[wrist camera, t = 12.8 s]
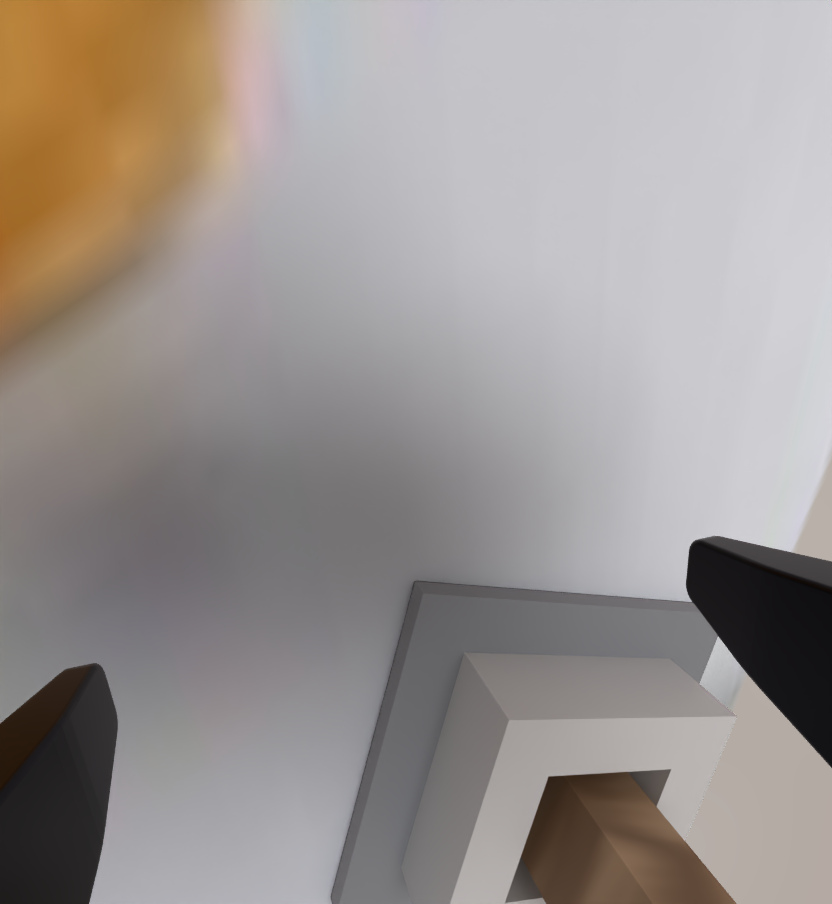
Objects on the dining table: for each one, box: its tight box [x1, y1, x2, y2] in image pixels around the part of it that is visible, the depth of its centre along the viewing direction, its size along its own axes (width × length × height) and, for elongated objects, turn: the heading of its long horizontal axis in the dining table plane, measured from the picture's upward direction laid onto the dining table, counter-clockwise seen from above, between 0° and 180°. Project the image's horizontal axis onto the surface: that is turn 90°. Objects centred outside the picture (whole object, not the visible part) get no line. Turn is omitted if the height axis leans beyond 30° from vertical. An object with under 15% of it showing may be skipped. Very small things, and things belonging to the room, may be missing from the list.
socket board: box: [331, 581, 737, 904], centre depth 26 cm, size 16×16×5 cm
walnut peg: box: [521, 772, 736, 904], centre depth 22 cm, size 4×4×13 cm
